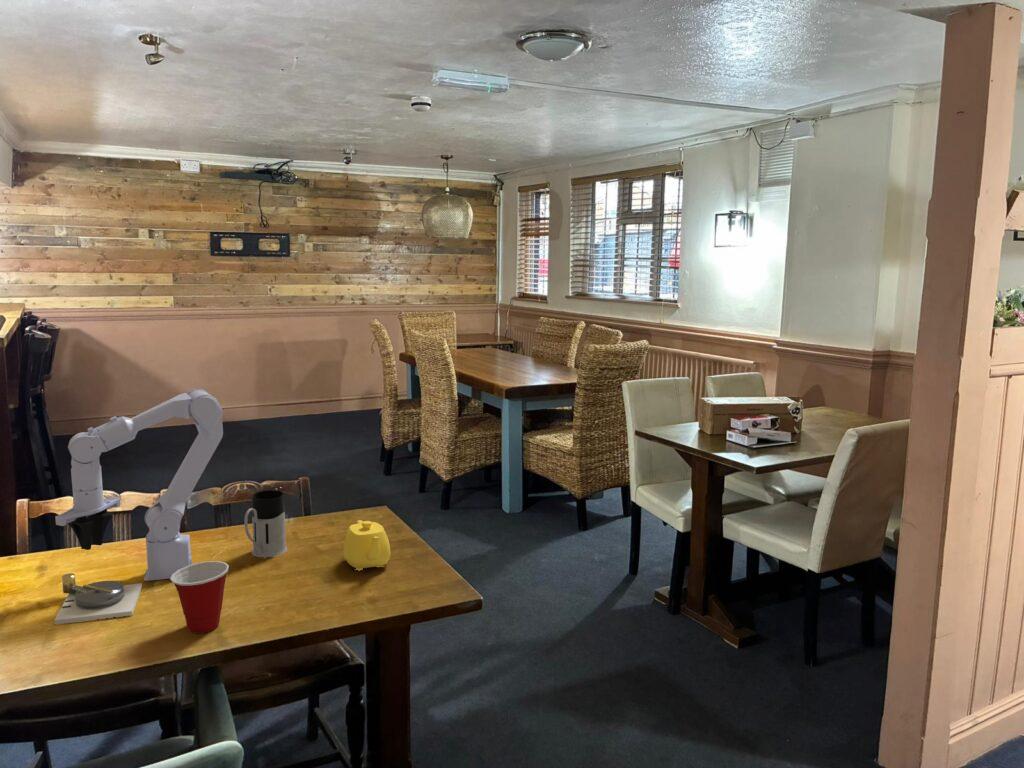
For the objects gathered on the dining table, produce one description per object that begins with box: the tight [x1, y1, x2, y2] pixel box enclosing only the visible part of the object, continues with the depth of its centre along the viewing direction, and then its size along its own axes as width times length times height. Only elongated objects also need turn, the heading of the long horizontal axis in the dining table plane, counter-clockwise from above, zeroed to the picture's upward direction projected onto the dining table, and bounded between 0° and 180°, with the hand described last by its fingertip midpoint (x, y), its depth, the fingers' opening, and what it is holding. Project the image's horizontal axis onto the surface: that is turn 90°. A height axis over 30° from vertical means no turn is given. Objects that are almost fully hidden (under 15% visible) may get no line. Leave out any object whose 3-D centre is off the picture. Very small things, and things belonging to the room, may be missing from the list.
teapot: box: [342, 519, 391, 569], centre depth 180 cm, size 18×11×11 cm, turn 25°
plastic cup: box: [169, 560, 230, 634], centre depth 148 cm, size 11×11×12 cm
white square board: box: [53, 583, 143, 626], centre depth 157 cm, size 14×14×1 cm
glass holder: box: [243, 489, 288, 559], centre depth 185 cm, size 9×14×15 cm, turn 166°
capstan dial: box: [61, 573, 125, 608], centre depth 158 cm, size 15×9×4 cm, turn 69°
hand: (91, 546), depth 165 cm, fingers open, 2 cm apart
